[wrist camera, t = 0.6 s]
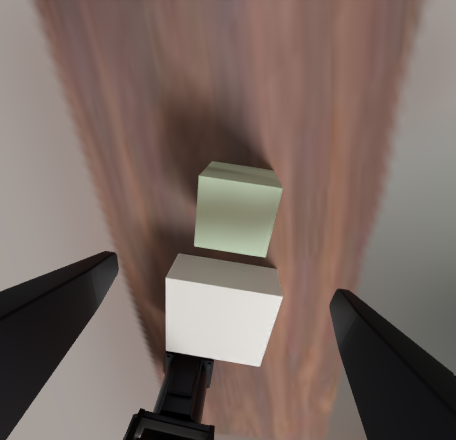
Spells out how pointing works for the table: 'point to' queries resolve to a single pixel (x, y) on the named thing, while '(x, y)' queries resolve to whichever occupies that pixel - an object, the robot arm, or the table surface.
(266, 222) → the green cube
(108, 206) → the table surface
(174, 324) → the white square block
